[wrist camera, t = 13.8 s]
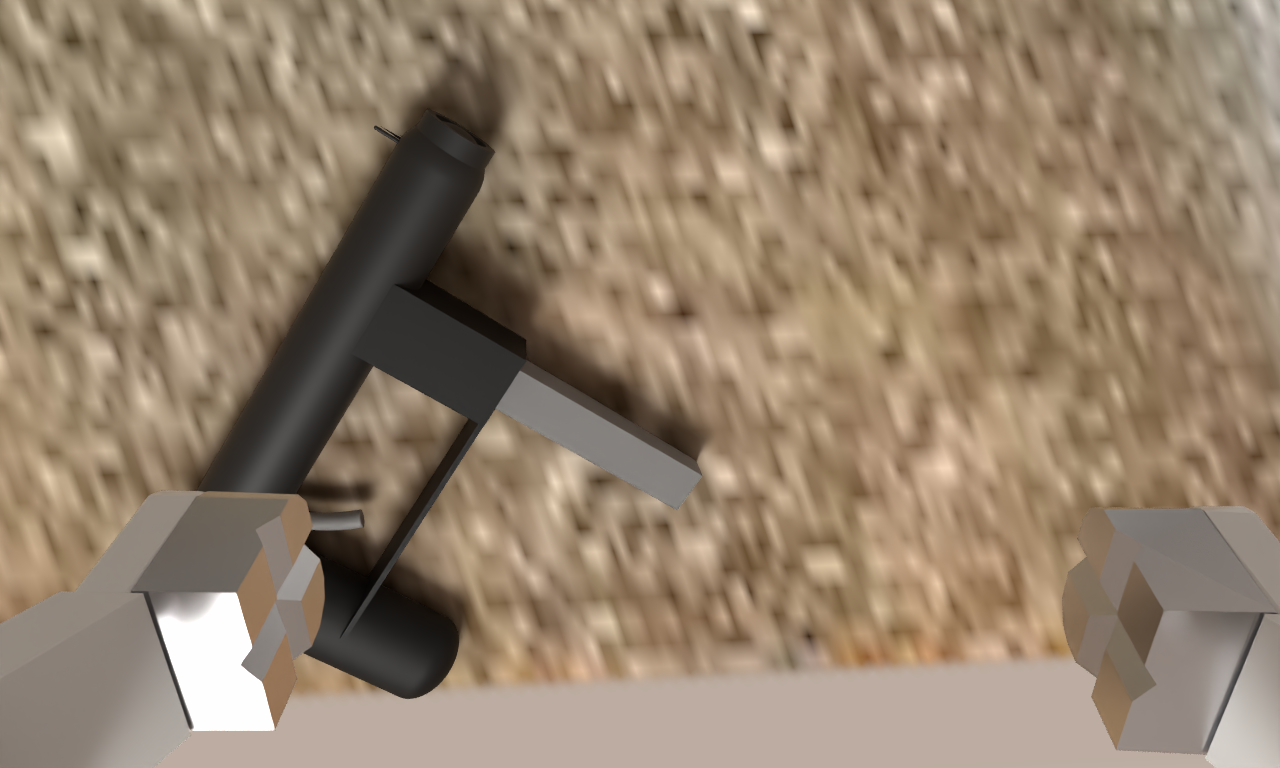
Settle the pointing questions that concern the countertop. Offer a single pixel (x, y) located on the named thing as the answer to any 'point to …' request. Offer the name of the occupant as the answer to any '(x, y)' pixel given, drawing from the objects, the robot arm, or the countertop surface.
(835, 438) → the countertop surface
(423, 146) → the door handle
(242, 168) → the countertop surface
